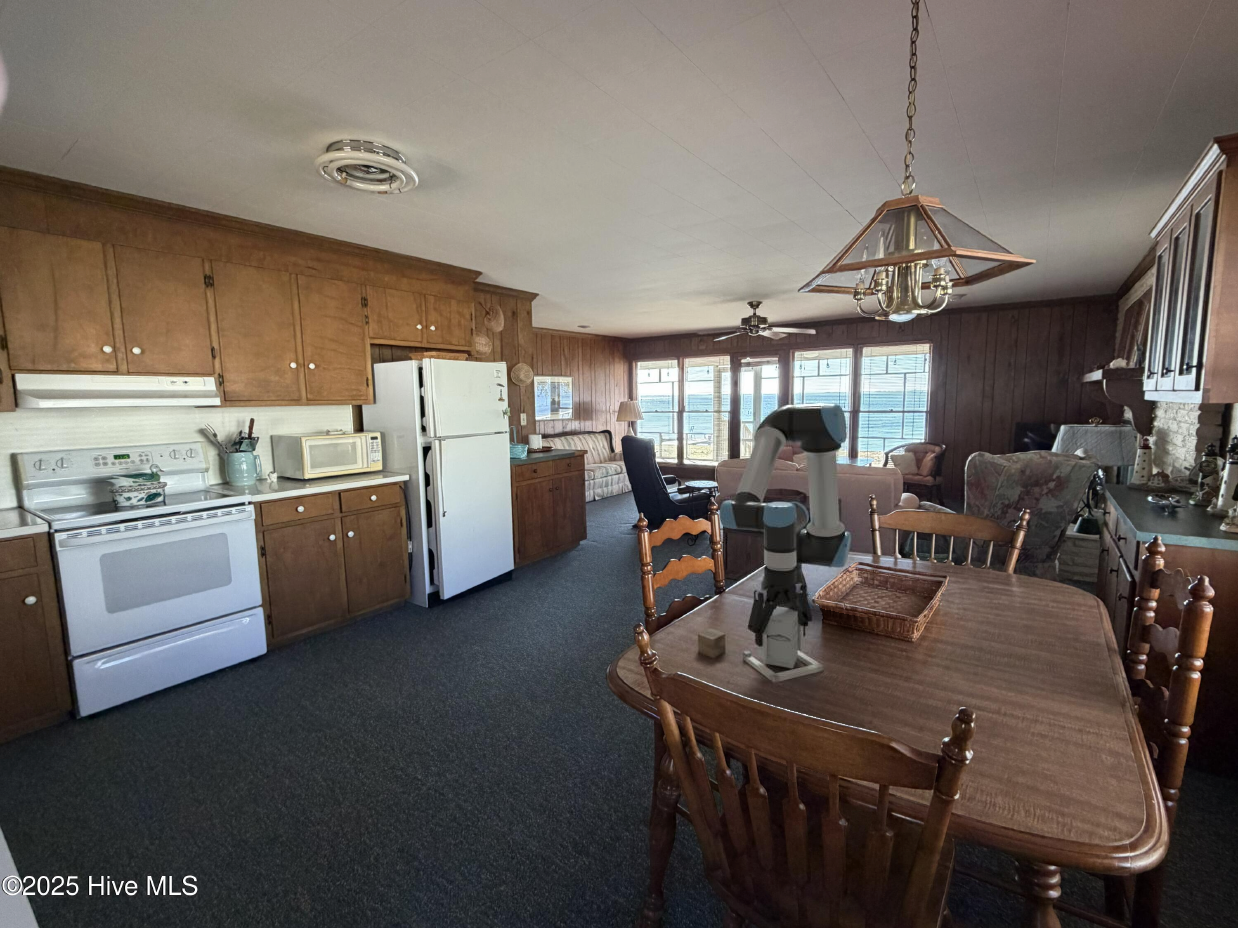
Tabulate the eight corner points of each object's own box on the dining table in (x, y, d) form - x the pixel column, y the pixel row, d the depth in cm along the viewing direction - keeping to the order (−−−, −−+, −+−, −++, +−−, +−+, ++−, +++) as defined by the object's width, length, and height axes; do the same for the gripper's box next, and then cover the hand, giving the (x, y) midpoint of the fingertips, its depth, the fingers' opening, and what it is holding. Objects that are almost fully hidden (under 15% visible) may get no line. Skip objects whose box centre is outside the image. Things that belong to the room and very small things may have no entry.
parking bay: (788, 648, 145) (788, 641, 144) (823, 670, 133) (823, 662, 132) (742, 659, 140) (742, 651, 140) (774, 682, 128) (773, 674, 128)
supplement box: (762, 664, 135) (761, 614, 134) (769, 651, 142) (768, 604, 140) (793, 669, 132) (792, 619, 130) (798, 656, 138) (798, 608, 137)
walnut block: (710, 646, 148) (710, 628, 148) (725, 651, 145) (725, 633, 144) (698, 651, 145) (697, 633, 145) (713, 658, 141) (712, 639, 141)
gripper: (808, 556, 141) (808, 639, 144) (731, 568, 134) (733, 655, 136) (828, 563, 134) (828, 651, 137) (749, 577, 127) (750, 669, 129)
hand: (780, 653), depth 136 cm, fingers open, 10 cm apart
